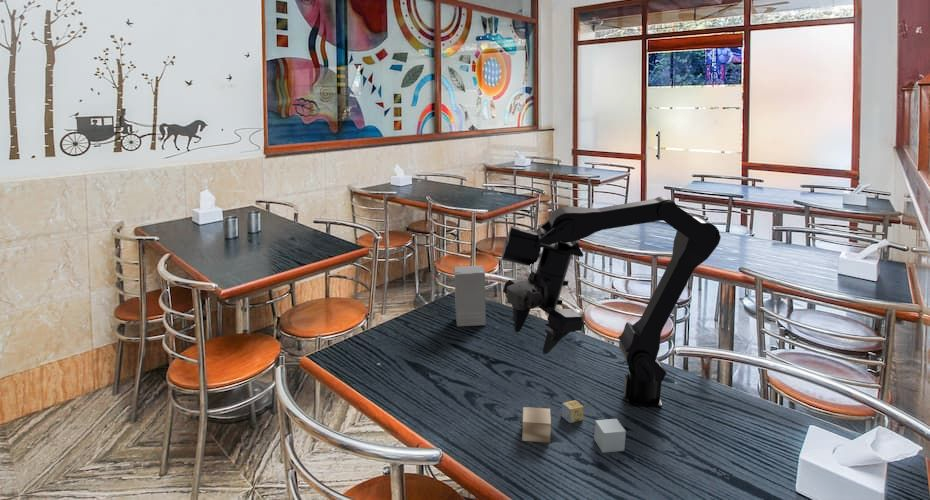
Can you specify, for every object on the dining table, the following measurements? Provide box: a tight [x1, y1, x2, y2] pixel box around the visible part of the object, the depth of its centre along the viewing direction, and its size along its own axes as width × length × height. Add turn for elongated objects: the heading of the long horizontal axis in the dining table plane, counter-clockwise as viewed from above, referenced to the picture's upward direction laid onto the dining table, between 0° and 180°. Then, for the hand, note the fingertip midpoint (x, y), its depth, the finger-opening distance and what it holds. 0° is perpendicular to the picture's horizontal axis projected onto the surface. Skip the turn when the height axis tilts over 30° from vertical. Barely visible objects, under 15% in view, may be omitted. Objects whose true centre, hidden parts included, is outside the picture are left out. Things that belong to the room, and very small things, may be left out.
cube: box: [593, 418, 627, 454], centre depth 98 cm, size 4×4×4 cm
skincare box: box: [453, 265, 487, 327], centre depth 151 cm, size 8×7×16 cm
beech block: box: [521, 406, 552, 443], centre depth 102 cm, size 5×5×4 cm
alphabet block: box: [561, 399, 585, 424], centre depth 107 cm, size 3×3×3 cm
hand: (530, 342), depth 112 cm, fingers open, 9 cm apart
